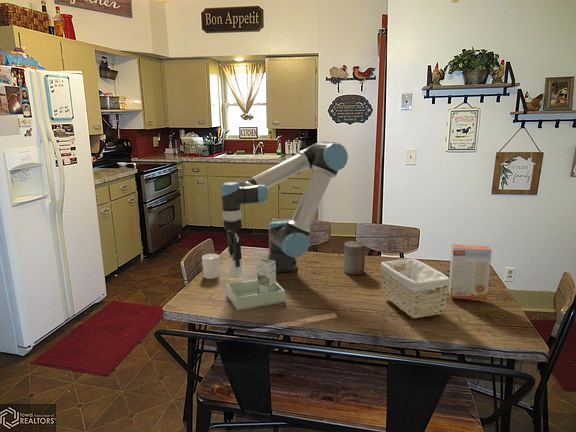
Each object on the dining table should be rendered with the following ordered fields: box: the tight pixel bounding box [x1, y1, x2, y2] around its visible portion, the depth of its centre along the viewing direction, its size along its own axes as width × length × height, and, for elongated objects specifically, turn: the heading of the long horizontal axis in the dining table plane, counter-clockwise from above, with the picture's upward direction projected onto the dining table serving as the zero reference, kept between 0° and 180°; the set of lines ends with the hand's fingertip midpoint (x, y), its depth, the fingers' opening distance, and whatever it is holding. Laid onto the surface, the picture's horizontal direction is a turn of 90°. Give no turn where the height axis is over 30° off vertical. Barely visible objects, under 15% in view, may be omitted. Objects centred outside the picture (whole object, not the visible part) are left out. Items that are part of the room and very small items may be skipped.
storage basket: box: [380, 258, 450, 319], centre depth 158 cm, size 24×16×15 cm
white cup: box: [201, 253, 220, 280], centre depth 189 cm, size 8×8×10 cm
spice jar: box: [229, 254, 243, 279], centre depth 177 cm, size 5×5×10 cm
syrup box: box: [256, 258, 277, 294], centre depth 166 cm, size 6×6×14 cm
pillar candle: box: [343, 240, 366, 275], centre depth 194 cm, size 10×10×15 cm
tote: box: [226, 278, 286, 312], centre depth 165 cm, size 20×16×5 cm
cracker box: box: [448, 243, 493, 301], centre depth 165 cm, size 14×6×21 cm, turn 76°
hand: (236, 271), depth 178 cm, fingers closed on spice jar, 5 cm apart
